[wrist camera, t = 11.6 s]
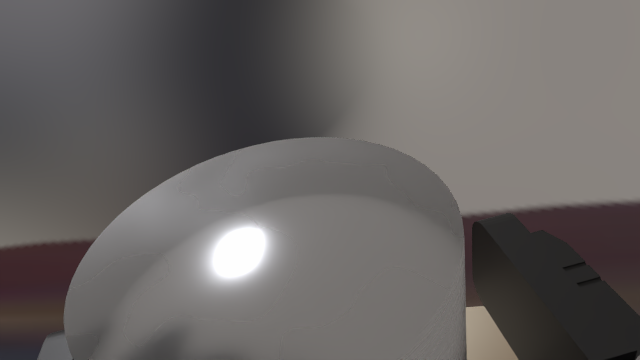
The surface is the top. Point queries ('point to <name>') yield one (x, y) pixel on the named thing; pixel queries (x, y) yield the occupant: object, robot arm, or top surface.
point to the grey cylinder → (279, 262)
